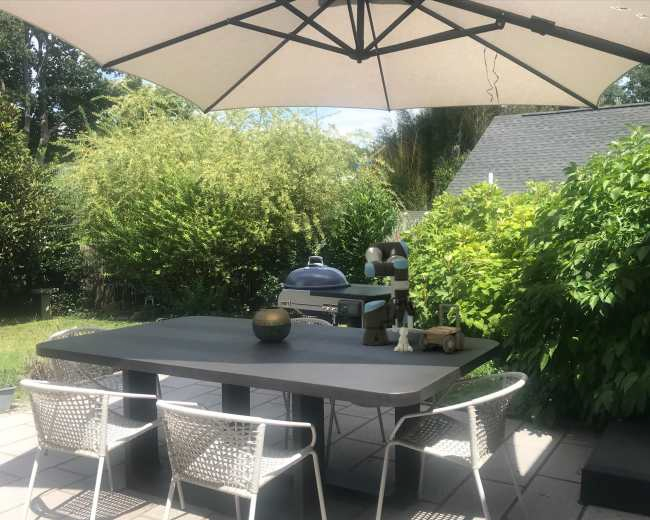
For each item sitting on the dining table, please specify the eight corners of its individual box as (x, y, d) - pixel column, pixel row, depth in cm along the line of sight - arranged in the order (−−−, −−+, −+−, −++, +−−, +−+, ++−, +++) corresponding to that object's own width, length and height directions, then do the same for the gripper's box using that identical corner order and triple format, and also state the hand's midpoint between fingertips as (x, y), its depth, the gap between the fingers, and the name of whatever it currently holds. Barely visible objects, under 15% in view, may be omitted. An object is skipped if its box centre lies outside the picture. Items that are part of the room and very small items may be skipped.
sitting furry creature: (394, 352, 324) (393, 328, 324) (394, 348, 333) (393, 326, 332) (412, 352, 323) (412, 328, 323) (412, 348, 332) (411, 326, 331)
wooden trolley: (446, 354, 314) (445, 309, 313) (419, 351, 324) (417, 307, 323) (465, 348, 328) (464, 304, 327) (439, 345, 338) (438, 303, 337)
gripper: (393, 291, 315) (394, 333, 315) (421, 287, 333) (422, 327, 334) (381, 290, 320) (382, 332, 320) (409, 286, 338) (410, 326, 339)
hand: (402, 330), depth 327 cm, fingers open, 13 cm apart
